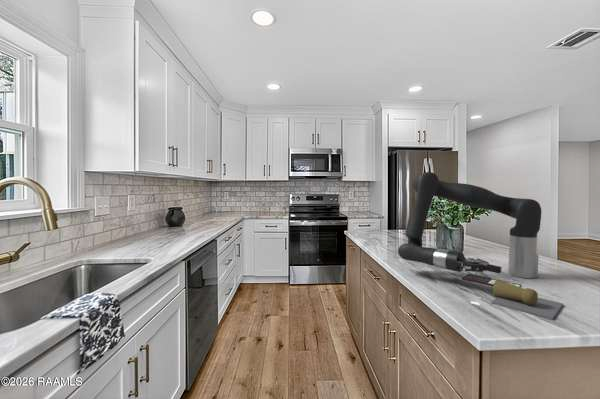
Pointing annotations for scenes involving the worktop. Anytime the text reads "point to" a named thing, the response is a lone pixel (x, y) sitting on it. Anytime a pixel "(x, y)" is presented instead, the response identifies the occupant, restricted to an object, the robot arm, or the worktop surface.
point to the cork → (514, 292)
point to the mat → (532, 307)
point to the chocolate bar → (484, 280)
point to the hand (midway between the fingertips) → (500, 270)
